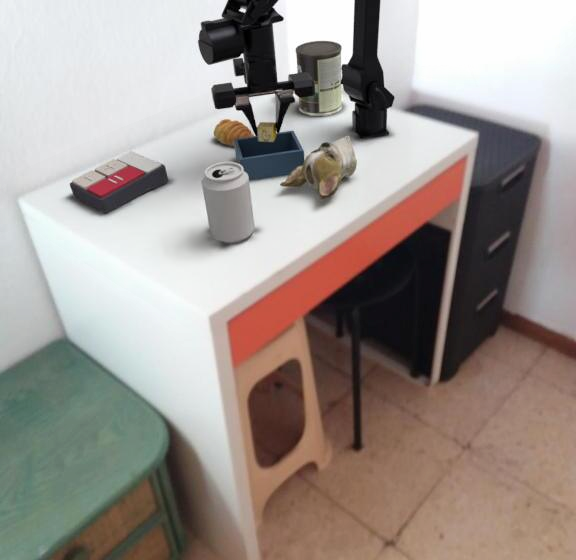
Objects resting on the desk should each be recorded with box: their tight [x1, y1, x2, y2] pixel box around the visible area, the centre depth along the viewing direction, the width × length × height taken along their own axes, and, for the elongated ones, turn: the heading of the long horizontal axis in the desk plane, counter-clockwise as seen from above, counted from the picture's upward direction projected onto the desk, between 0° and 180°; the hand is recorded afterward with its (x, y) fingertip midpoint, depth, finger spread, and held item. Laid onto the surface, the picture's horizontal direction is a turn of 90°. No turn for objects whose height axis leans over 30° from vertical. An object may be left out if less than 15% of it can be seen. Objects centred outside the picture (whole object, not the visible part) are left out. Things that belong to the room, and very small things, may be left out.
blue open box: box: [233, 130, 305, 181], centre depth 120 cm, size 12×10×5 cm
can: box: [201, 161, 255, 244], centre depth 98 cm, size 8×8×12 cm
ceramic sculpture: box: [279, 135, 358, 200], centre depth 111 cm, size 11×9×15 cm
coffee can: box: [295, 40, 343, 117], centre depth 139 cm, size 10×10×14 cm
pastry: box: [213, 118, 254, 147], centre depth 131 cm, size 9×7×4 cm
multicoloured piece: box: [69, 151, 169, 214], centre depth 116 cm, size 11×4×15 cm
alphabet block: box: [256, 121, 277, 142], centre depth 117 cm, size 3×3×3 cm
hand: (267, 133), depth 117 cm, fingers closed on alphabet block, 4 cm apart
